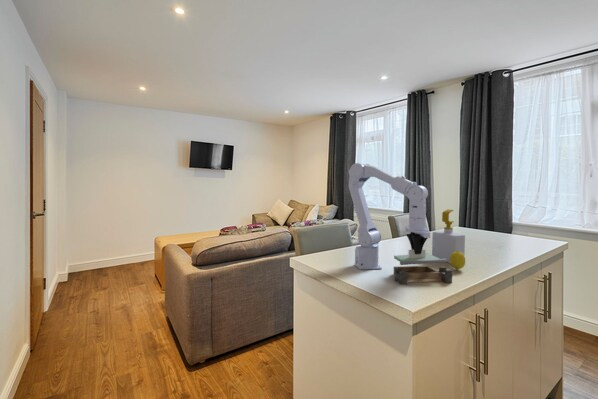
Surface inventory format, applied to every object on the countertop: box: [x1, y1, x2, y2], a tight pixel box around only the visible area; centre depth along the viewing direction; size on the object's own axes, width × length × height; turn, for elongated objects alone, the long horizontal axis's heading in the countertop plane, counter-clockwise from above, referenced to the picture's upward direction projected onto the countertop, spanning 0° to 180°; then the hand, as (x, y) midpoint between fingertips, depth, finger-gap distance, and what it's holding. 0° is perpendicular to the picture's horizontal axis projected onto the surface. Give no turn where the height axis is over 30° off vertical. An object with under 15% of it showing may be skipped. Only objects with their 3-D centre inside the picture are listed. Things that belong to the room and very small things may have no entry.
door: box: [393, 248, 448, 266], centre depth 105 cm, size 17×10×4 cm, turn 96°
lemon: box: [449, 251, 466, 271], centre depth 114 cm, size 6×6×8 cm
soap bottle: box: [431, 209, 466, 264], centre depth 128 cm, size 12×7×23 cm, turn 23°
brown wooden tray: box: [393, 265, 453, 286], centre depth 104 cm, size 19×11×4 cm, turn 95°
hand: (416, 253), depth 106 cm, fingers closed on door
